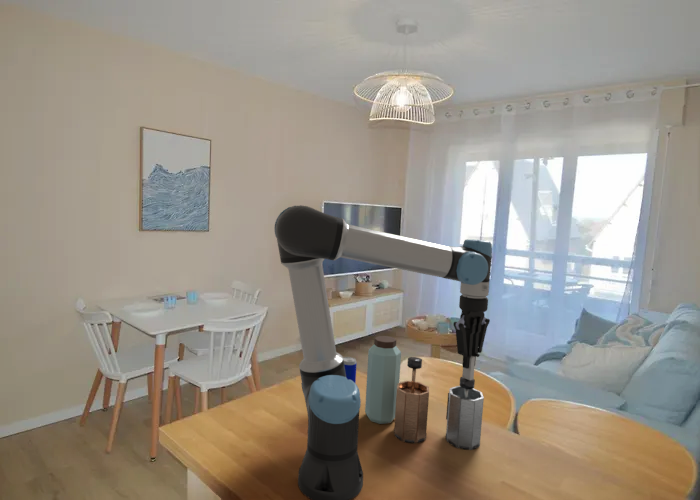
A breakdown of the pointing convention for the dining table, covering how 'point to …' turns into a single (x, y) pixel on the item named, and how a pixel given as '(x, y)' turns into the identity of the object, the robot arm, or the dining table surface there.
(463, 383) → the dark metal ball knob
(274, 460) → the dining table surface
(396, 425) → the copper press
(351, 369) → the beverage can
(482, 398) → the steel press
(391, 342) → the water bottle
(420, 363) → the copper press plunger
